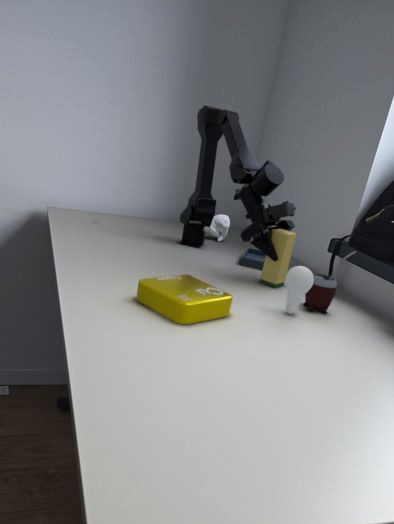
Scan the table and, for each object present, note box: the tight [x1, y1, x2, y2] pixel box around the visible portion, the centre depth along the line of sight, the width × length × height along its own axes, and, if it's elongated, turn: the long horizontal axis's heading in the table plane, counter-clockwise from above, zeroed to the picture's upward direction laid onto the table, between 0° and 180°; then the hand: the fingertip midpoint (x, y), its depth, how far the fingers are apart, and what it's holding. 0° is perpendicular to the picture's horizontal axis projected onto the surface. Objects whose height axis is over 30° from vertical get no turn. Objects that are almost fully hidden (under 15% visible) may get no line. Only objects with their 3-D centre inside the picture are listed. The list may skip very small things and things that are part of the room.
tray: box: [239, 247, 266, 271], centre depth 149 cm, size 13×15×2 cm
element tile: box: [135, 274, 233, 325], centre depth 101 cm, size 15×15×5 cm
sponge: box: [259, 229, 298, 289], centre depth 128 cm, size 5×5×14 cm
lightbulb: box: [284, 265, 314, 315], centre depth 109 cm, size 6×6×11 cm
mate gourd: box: [303, 250, 357, 315], centre depth 114 cm, size 8×8×15 cm
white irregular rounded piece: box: [205, 214, 231, 242], centre depth 169 cm, size 6×8×12 cm
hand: (282, 259), depth 127 cm, fingers open, 6 cm apart
